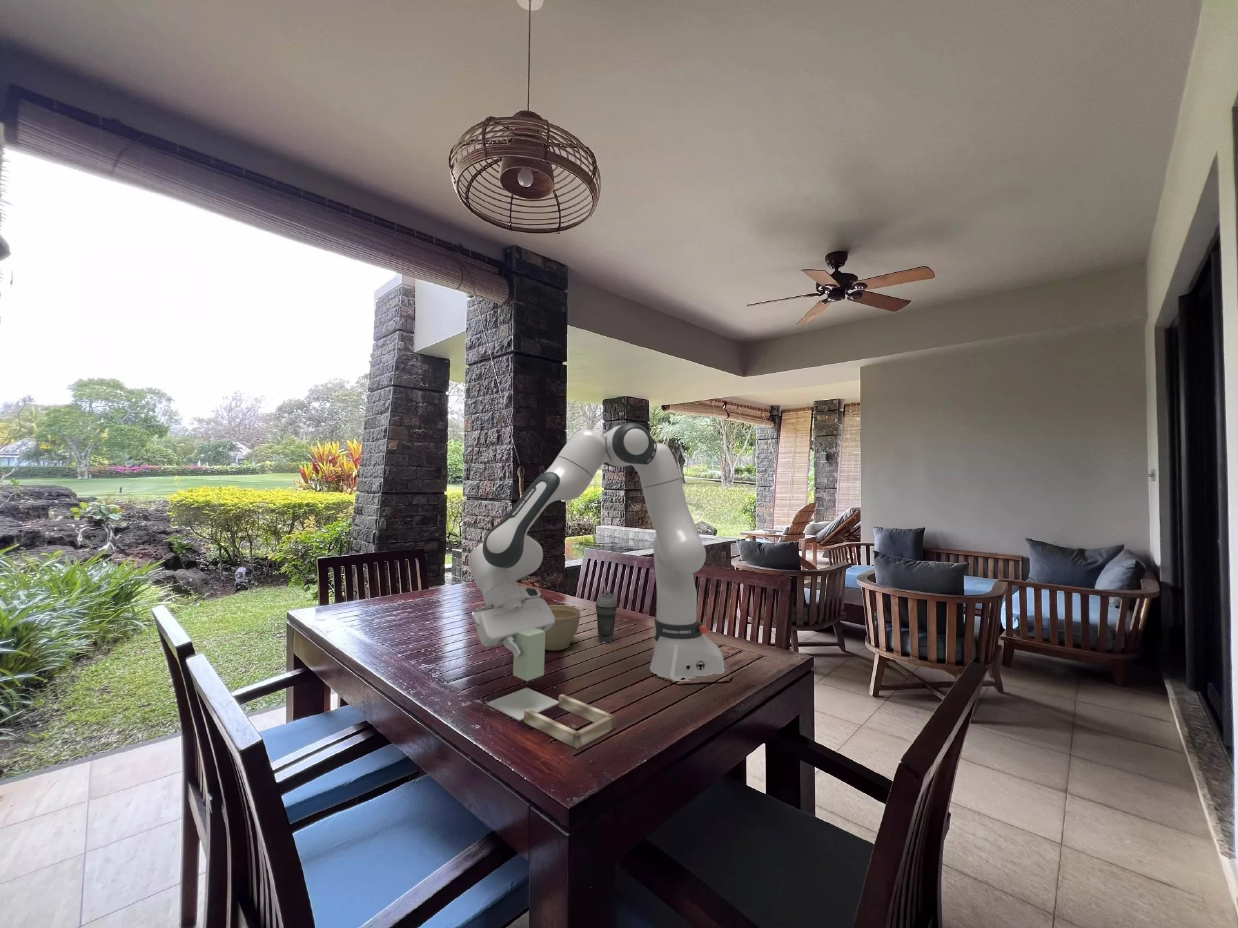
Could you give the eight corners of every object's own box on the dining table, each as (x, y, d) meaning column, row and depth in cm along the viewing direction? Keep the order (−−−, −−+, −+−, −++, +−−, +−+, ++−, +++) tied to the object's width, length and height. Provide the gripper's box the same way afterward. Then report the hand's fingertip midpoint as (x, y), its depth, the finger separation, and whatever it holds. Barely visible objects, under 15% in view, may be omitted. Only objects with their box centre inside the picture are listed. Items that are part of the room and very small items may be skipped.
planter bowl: (518, 644, 161) (519, 609, 161) (560, 635, 172) (560, 602, 172) (547, 658, 149) (548, 621, 149) (590, 647, 160) (591, 612, 160)
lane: (523, 721, 110) (524, 710, 110) (562, 704, 119) (562, 694, 119) (577, 748, 100) (577, 735, 100) (615, 727, 108) (615, 716, 108)
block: (512, 675, 118) (514, 631, 118) (529, 669, 121) (531, 626, 122) (527, 681, 114) (528, 636, 115) (543, 674, 118) (545, 631, 119)
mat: (486, 704, 118) (486, 702, 118) (526, 688, 127) (526, 687, 127) (519, 720, 110) (519, 719, 110) (560, 703, 120) (560, 701, 120)
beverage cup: (608, 646, 161) (610, 582, 162) (589, 641, 165) (591, 579, 166) (620, 640, 167) (622, 579, 168) (602, 636, 171) (603, 576, 172)
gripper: (475, 601, 115) (500, 655, 108) (543, 588, 131) (569, 634, 124) (463, 617, 118) (486, 671, 111) (531, 602, 133) (556, 649, 127)
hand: (531, 652), depth 118 cm, fingers closed on block, 5 cm apart
